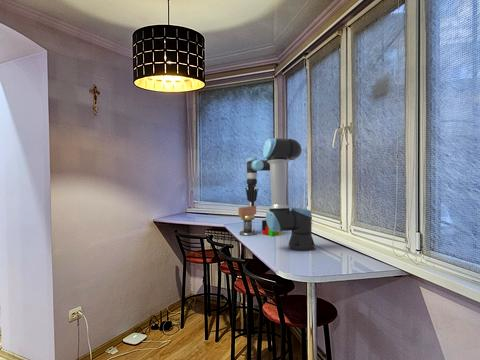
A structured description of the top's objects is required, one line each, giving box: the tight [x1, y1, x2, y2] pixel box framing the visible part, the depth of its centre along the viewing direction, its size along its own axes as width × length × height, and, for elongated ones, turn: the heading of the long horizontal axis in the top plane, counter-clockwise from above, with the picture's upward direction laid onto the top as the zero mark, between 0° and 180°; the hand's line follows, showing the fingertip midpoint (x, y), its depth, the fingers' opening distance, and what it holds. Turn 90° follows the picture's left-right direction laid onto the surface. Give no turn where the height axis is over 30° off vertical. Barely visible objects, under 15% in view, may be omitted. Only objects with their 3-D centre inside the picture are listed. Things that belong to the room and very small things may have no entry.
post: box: [238, 220, 257, 237], centre depth 225 cm, size 12×12×11 cm
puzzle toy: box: [261, 219, 283, 237], centre depth 224 cm, size 10×10×10 cm
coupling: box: [238, 205, 257, 221], centre depth 225 cm, size 17×10×9 cm, turn 141°
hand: (251, 210), depth 231 cm, fingers closed
